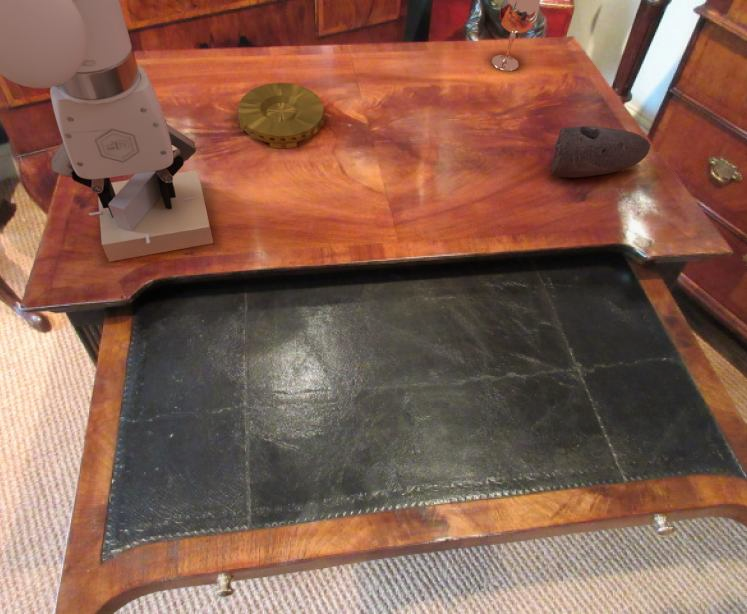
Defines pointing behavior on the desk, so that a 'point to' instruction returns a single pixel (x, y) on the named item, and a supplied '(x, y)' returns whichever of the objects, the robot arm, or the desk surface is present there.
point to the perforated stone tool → (596, 151)
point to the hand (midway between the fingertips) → (141, 204)
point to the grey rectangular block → (135, 200)
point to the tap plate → (160, 223)
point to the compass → (281, 114)
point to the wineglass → (515, 26)
